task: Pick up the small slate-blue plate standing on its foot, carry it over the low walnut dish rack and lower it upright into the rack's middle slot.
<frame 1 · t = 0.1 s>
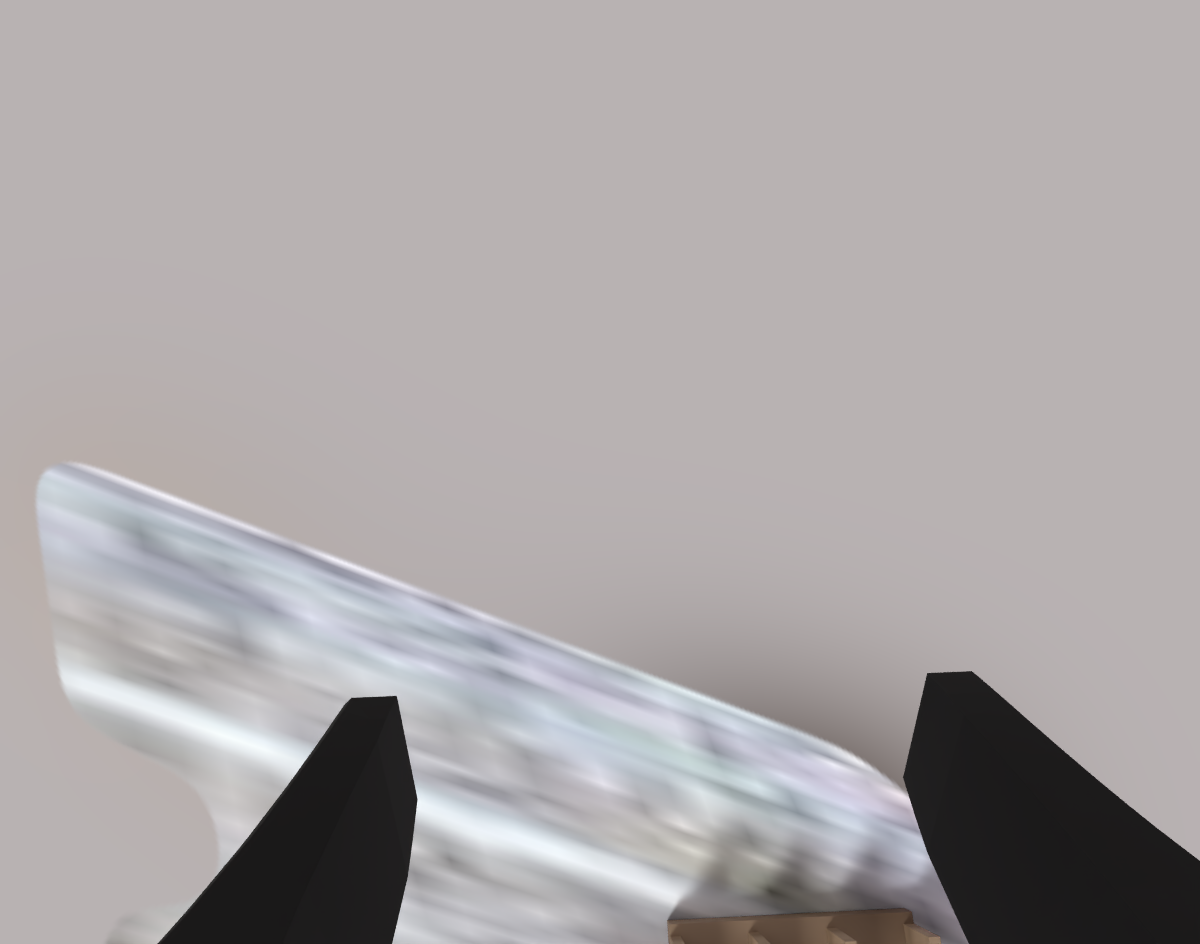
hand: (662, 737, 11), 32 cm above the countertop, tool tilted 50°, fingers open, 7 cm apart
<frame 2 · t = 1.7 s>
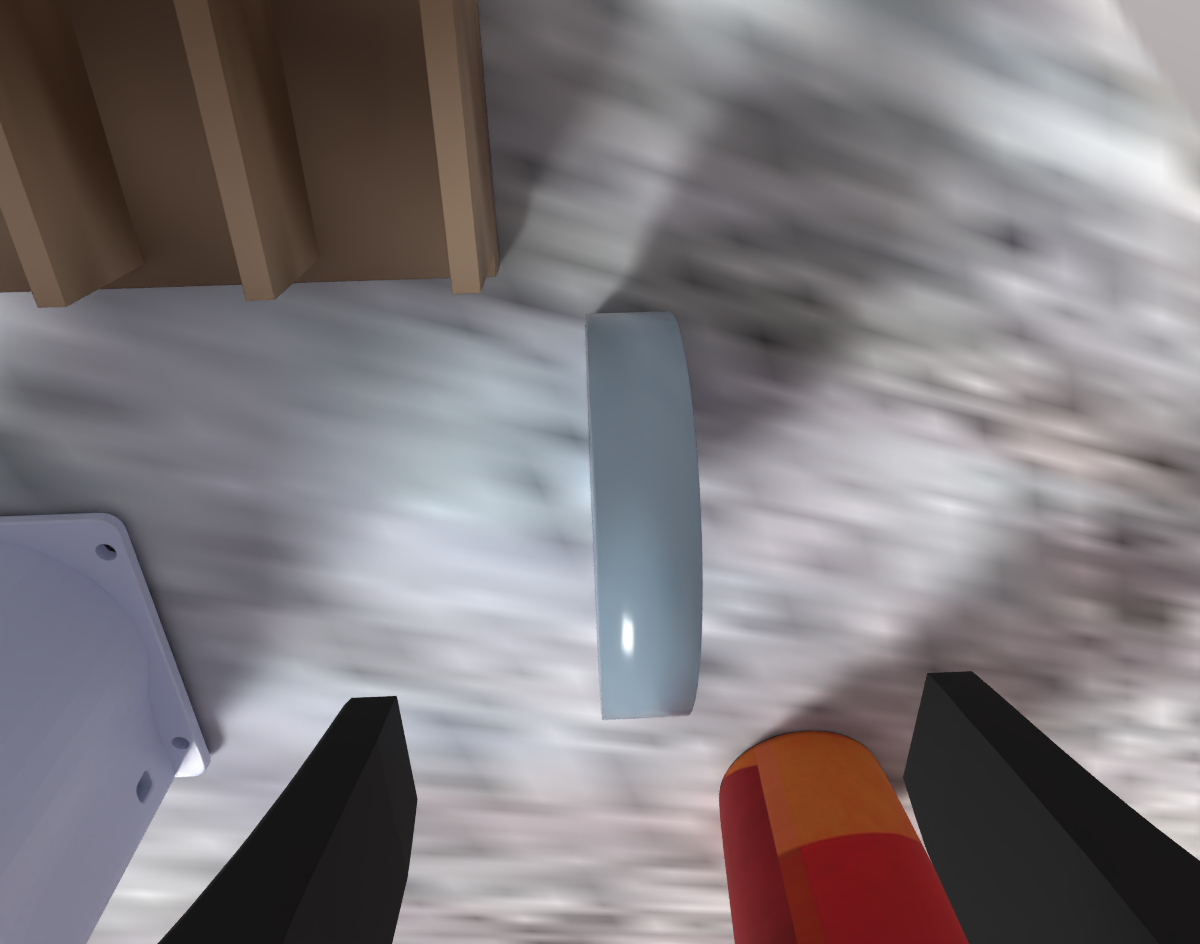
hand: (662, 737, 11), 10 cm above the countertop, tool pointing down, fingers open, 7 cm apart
rack: (181, 18, 16), on the countertop
plate: (619, 419, 20), on the countertop
paper cup: (799, 782, 27), on the countertop
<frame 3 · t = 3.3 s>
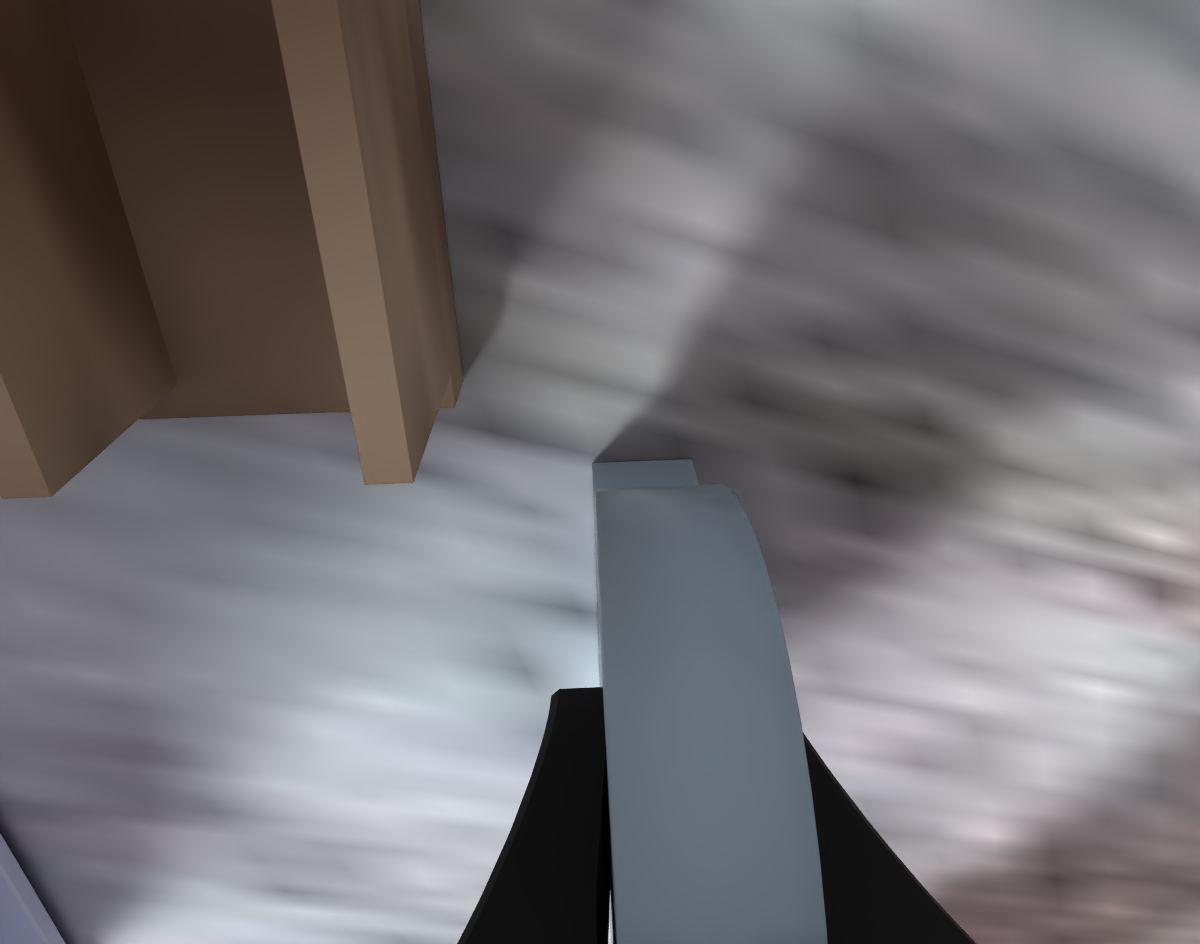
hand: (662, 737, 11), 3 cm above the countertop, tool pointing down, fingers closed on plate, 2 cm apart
plate: (642, 586, 14), on the countertop, touching gripper
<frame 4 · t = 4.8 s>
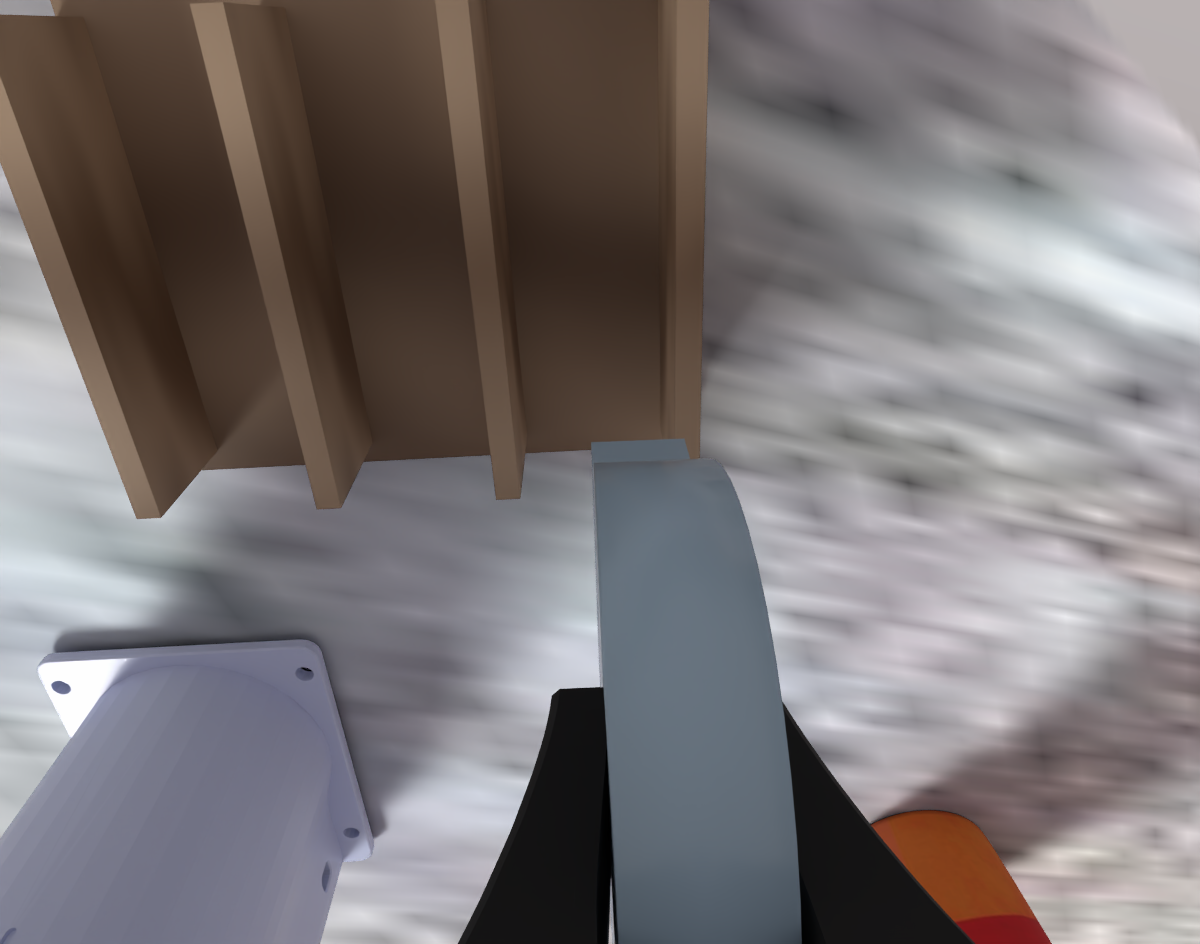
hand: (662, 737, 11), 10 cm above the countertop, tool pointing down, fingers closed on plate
rack: (417, 238, 18), on the countertop
plate: (638, 559, 15), point 6 cm above the countertop, touching gripper
paper cup: (910, 854, 29), on the countertop
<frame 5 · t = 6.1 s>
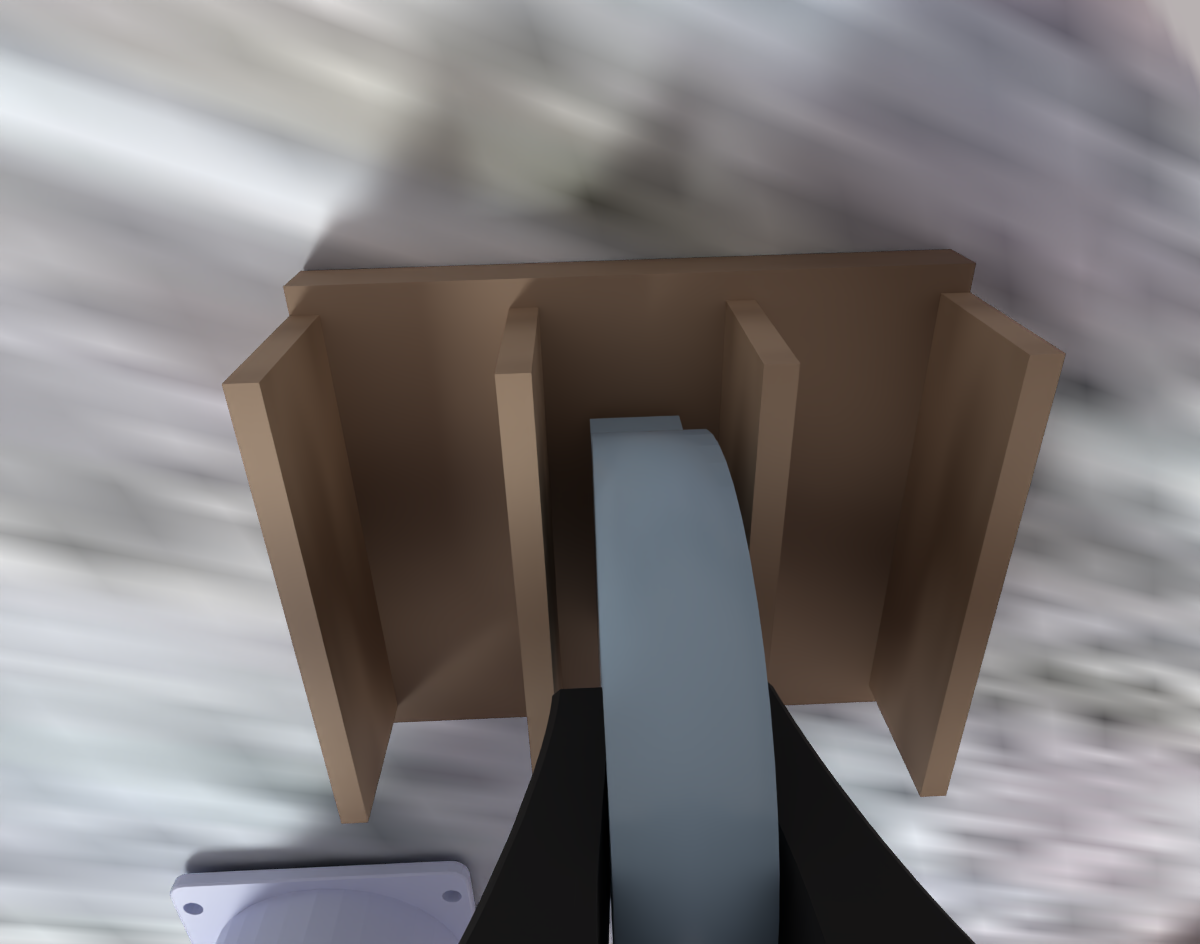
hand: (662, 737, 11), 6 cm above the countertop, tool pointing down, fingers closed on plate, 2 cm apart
rack: (630, 500, 17), on the countertop
plate: (635, 533, 15), point 1 cm above the countertop, touching gripper
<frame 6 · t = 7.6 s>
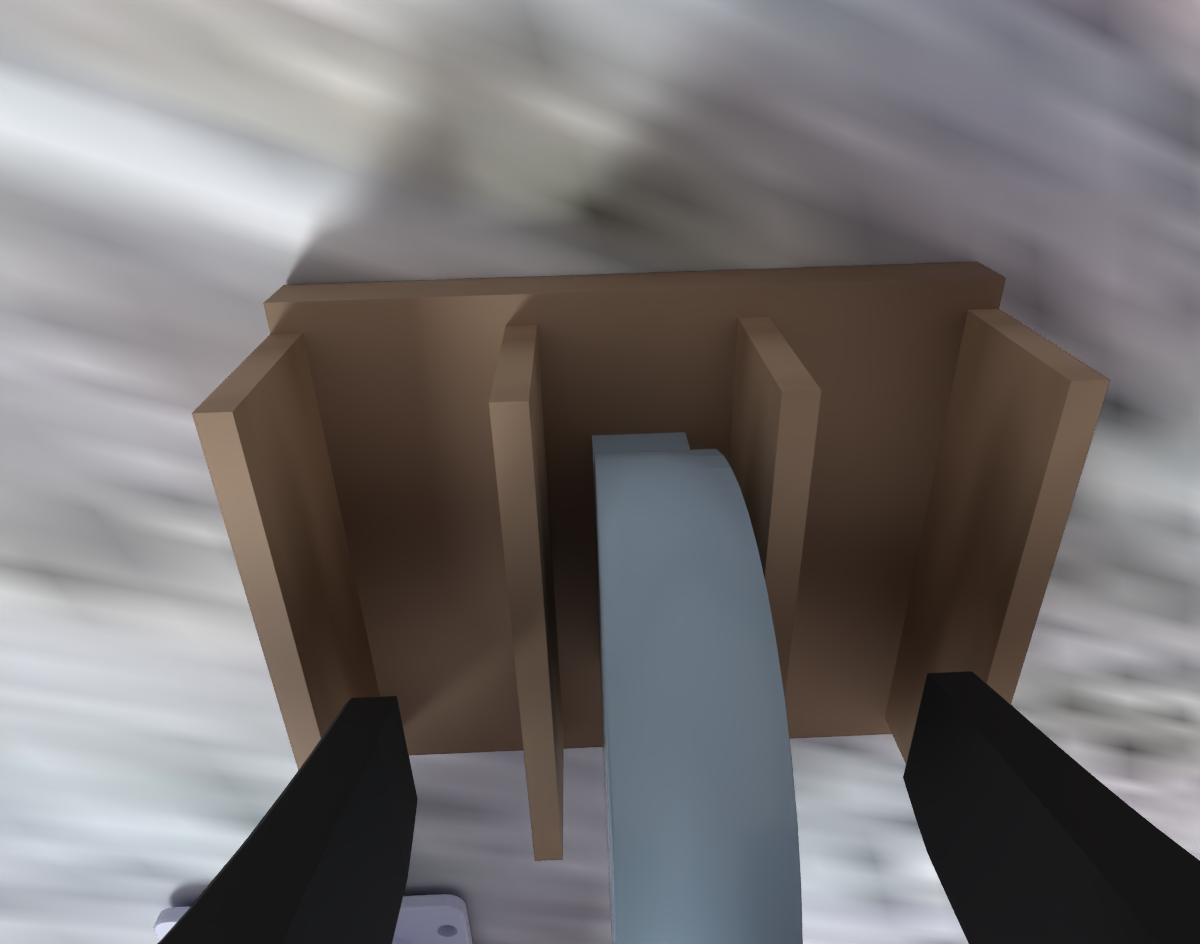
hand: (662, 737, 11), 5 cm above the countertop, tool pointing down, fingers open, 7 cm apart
rack: (634, 525, 16), on the countertop
plate: (638, 554, 15), point 1 cm above the countertop, touching rack
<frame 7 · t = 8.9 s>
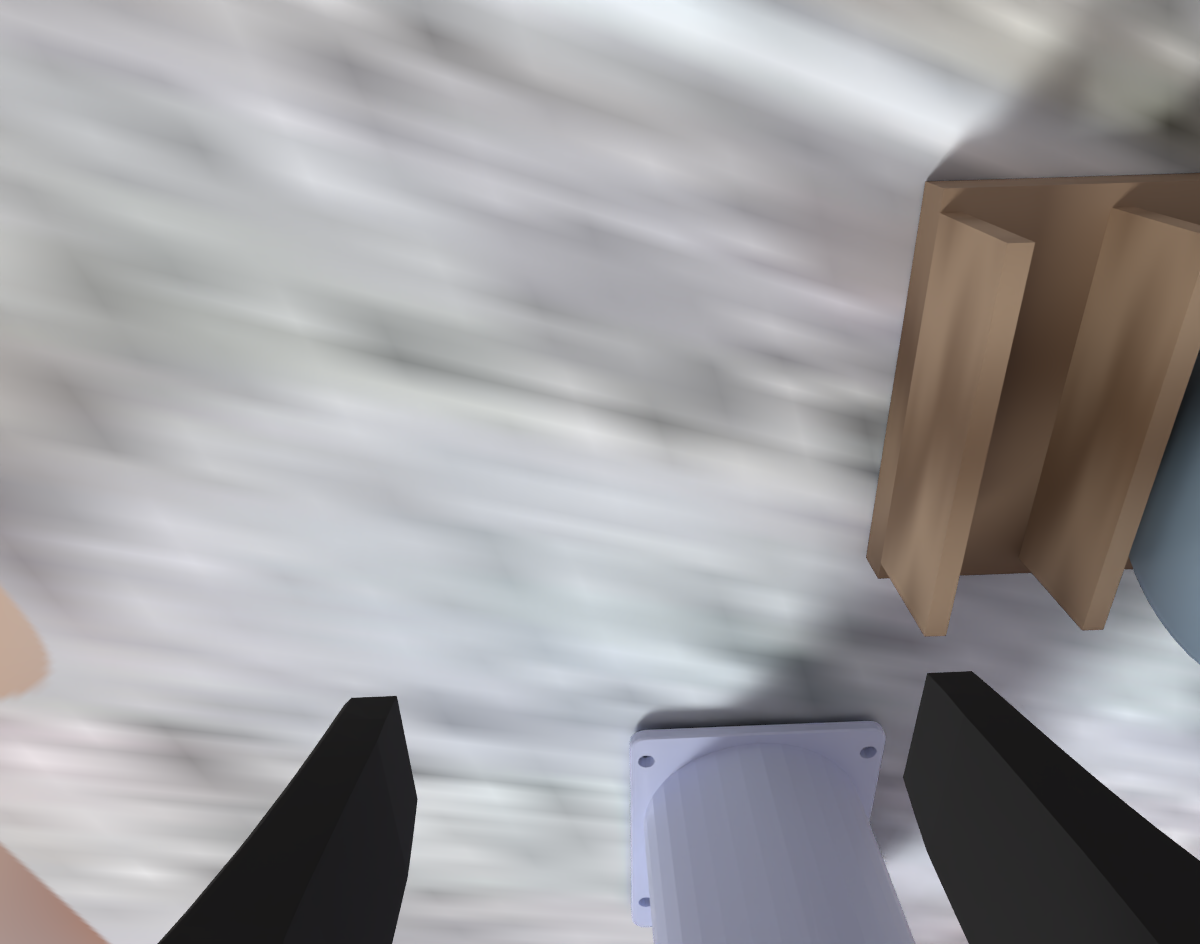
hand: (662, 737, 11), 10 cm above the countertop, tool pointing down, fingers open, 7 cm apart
rack: (1121, 383, 20), on the countertop
plate: (1147, 398, 19), point 1 cm above the countertop, touching rack
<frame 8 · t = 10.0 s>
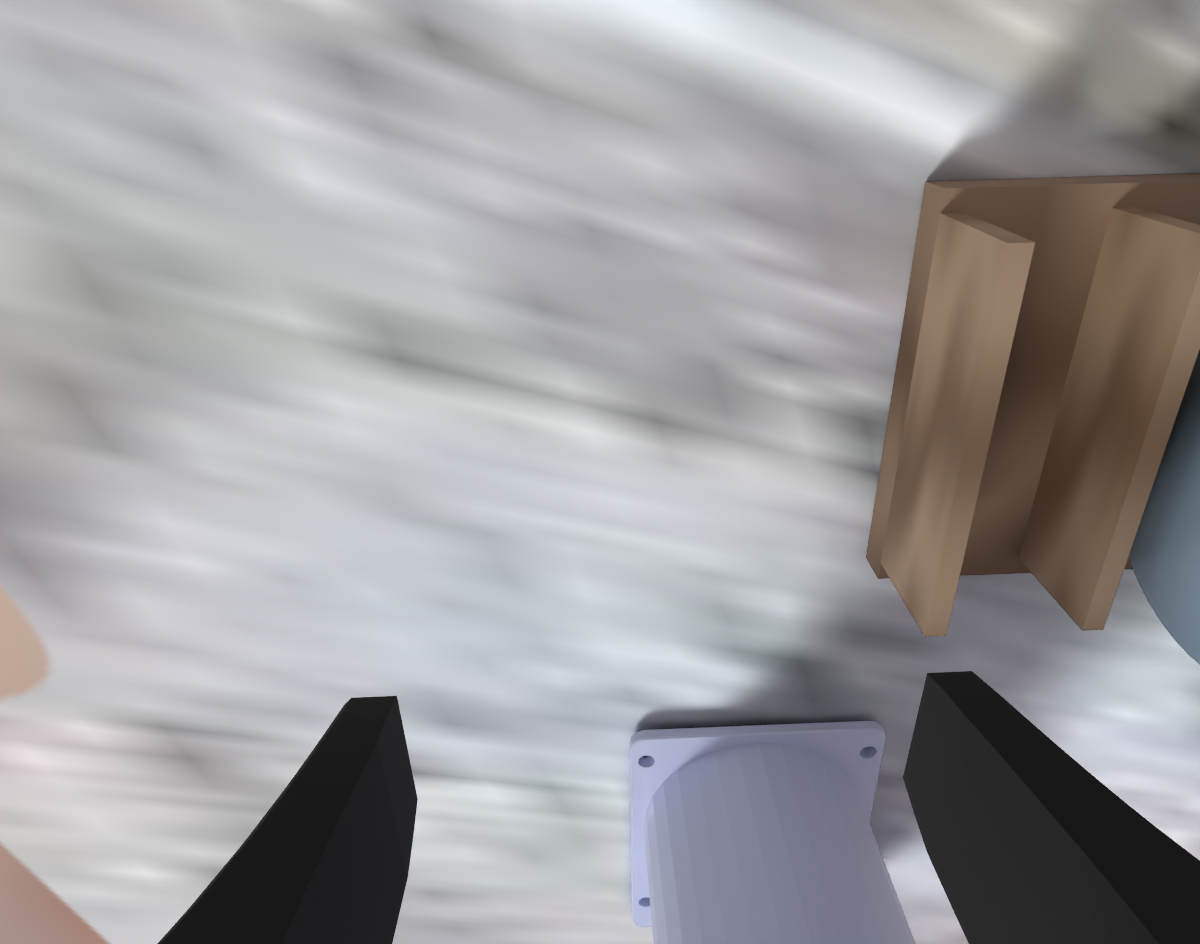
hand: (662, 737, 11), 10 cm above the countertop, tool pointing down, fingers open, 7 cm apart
rack: (1121, 383, 20), on the countertop
plate: (1147, 398, 19), point 1 cm above the countertop, touching rack
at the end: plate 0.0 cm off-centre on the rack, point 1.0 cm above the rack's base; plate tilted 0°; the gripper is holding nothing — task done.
